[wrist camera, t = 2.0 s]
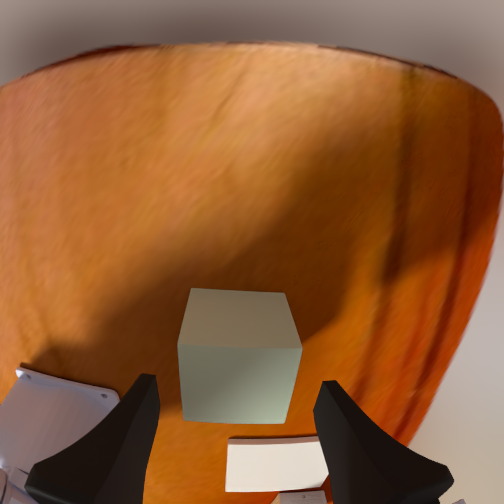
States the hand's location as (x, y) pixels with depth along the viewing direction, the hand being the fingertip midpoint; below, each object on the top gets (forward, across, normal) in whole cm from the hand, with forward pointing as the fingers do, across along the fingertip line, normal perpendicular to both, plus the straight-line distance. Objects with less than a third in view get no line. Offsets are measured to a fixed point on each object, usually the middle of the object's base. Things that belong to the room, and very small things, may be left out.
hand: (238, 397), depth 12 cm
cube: (+6, 0, 0) cm, 6 cm away
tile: (+5, -5, +16) cm, 18 cm away
